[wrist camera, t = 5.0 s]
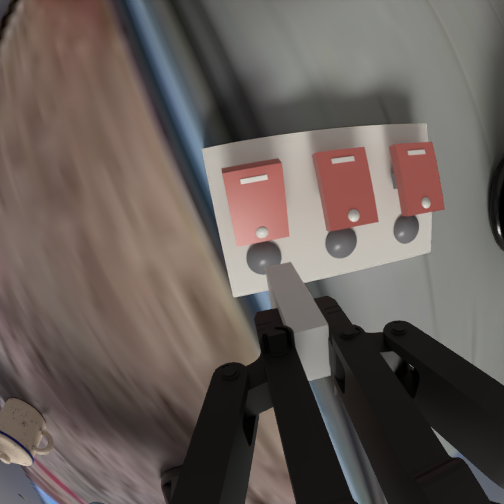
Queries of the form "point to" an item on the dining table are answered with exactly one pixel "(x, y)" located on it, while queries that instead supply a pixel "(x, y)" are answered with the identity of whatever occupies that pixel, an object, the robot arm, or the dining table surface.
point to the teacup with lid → (21, 433)
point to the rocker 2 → (345, 188)
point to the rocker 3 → (416, 178)
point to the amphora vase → (498, 206)
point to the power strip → (319, 207)
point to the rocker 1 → (257, 201)
